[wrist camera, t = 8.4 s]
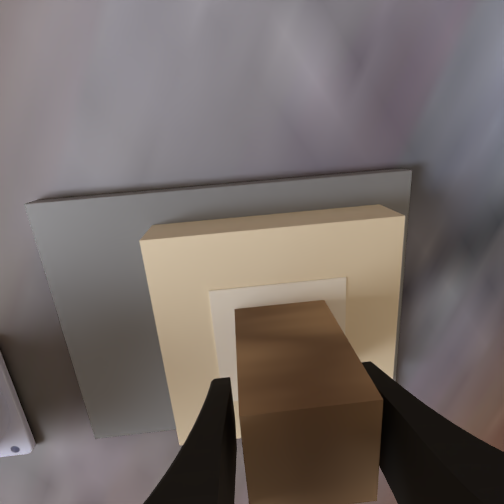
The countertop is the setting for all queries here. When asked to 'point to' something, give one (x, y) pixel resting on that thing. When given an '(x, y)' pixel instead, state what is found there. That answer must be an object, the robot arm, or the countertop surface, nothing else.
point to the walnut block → (305, 408)
